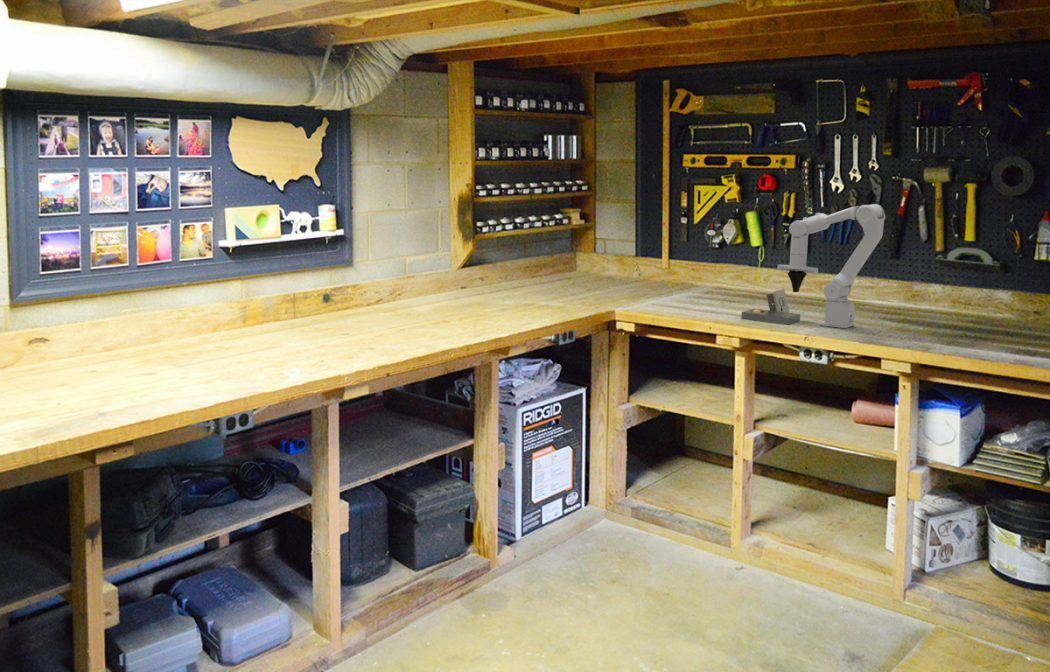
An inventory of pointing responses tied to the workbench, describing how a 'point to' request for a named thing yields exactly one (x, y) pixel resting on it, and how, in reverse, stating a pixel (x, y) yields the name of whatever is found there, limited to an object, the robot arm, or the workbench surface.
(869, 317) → the workbench surface
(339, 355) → the workbench surface
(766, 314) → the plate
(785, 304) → the electrical switch
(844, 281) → the robot arm
